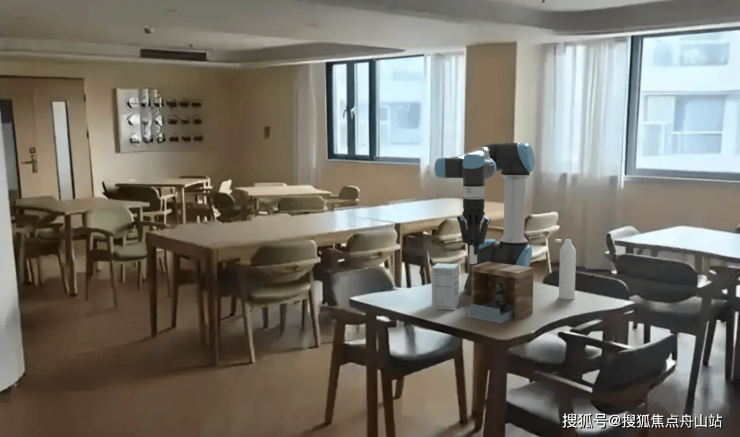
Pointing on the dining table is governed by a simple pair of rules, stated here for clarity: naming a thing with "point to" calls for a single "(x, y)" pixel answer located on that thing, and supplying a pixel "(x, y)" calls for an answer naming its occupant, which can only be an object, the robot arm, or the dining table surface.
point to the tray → (491, 312)
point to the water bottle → (567, 270)
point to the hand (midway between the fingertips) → (473, 263)
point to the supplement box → (445, 286)
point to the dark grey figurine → (499, 298)
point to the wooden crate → (514, 286)
